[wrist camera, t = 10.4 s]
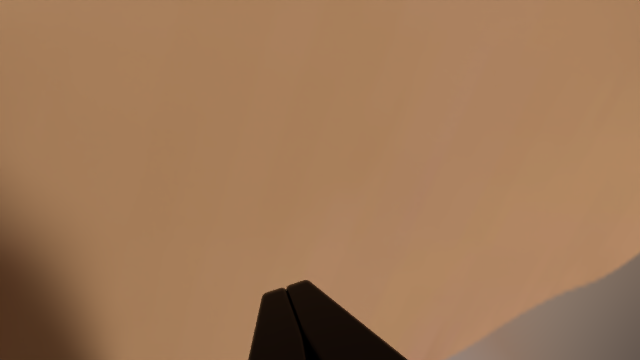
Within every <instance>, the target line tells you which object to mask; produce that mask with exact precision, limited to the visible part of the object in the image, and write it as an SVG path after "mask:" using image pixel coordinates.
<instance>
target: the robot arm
mask: <svg viewBox="0 0 640 360" xmlns="http://www.w3.org/2000/svg"><path fill="white" fill-rule="evenodd" d="M248 360H407V359H406V358H405V357H404V356H402V355H401V354H400V353H399V352H397V351H396V350H395V349H394V348H392V347H391V346H390V345H389V344H387V343H386V342H385V341H384V340H382V339H381V338H380V337H379V336H377V335H376V334H375V333H374V332H372V331H371V330H370V329H369V328H367V327H366V326H365V325H364V324H362V323H361V322H360V321H359V320H357V319H356V318H355V317H354V316H352V315H351V314H350V313H349V312H347V311H346V310H345V309H344V308H342V307H341V306H340V305H339V304H337V303H336V302H335V301H334V300H332V299H331V298H330V297H329V296H327V295H326V294H325V293H324V292H322V291H321V290H320V289H319V288H317V287H316V286H315V285H314V284H312V283H311V282H310V281H308V280H304V281H300V282H297V283H294V284H291V285H289V286H288V287H287V289H285V288H279V289H276V290H273V291H270V292H267V293H265V294H264V295H263V296H262V299H261V304H260V309H259V313H258V318H257V322H256V327H255V331H254V336H253V341H252V345H251V350H250V354H249V359H248Z"/></svg>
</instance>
